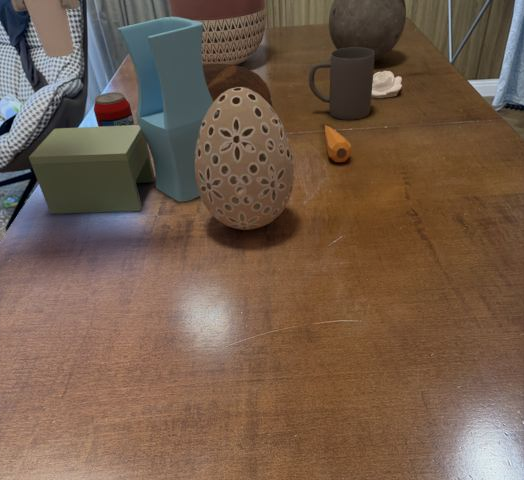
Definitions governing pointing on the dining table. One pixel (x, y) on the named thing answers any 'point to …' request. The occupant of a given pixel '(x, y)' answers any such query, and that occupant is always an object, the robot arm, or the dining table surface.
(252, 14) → the planter
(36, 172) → the sage green box
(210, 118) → the ornament
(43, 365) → the dining table surface
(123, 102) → the beverage can
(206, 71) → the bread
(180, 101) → the vase
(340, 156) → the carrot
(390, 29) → the decorative sphere
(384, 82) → the rose
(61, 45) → the cup
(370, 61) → the mug
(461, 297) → the dining table surface
